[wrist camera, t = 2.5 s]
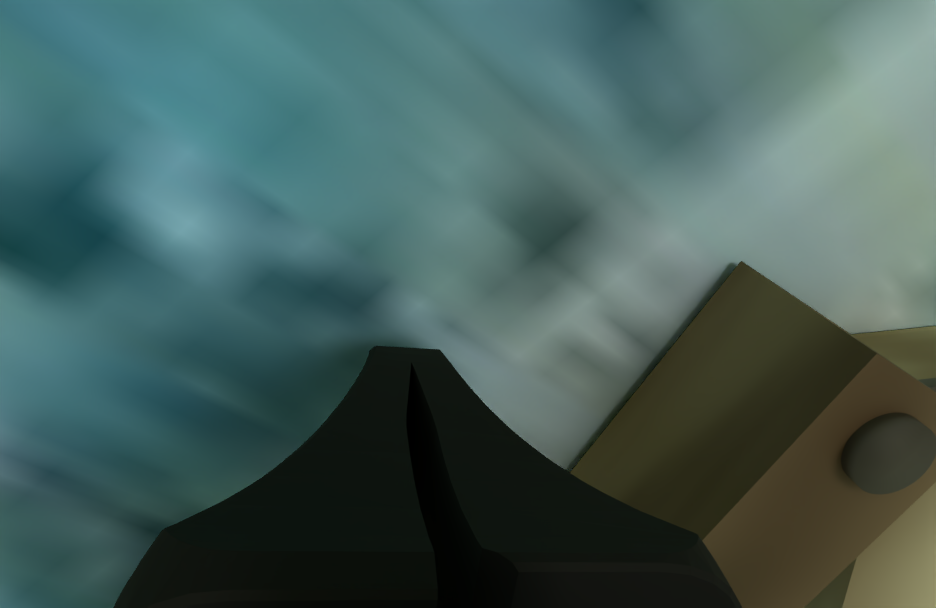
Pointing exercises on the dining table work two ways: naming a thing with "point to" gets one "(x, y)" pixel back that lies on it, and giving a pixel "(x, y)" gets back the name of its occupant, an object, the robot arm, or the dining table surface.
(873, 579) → the stool top
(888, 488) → the folding leg
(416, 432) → the robot arm
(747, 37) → the dining table surface
